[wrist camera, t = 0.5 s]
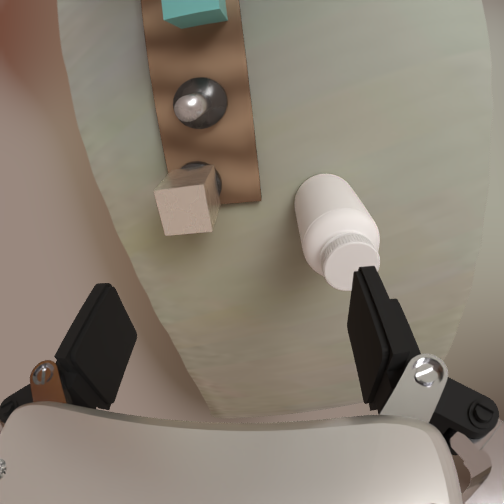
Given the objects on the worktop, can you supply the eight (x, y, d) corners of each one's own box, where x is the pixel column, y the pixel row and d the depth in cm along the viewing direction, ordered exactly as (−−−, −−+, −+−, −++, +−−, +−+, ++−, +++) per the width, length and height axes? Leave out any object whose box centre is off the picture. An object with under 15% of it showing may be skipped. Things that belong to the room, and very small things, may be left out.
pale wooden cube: (170, 164, 35) (149, 187, 29) (218, 158, 35) (207, 180, 28) (179, 208, 38) (162, 239, 32) (225, 203, 38) (216, 234, 31)
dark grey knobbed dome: (172, 82, 30) (152, 85, 24) (224, 73, 29) (215, 73, 24) (180, 130, 33) (163, 143, 27) (230, 123, 32) (223, 134, 27)
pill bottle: (350, 166, 36) (394, 222, 23) (355, 222, 40) (391, 294, 27) (288, 177, 37) (301, 238, 24) (298, 232, 41) (312, 310, 28)
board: (142, -13, 23) (139, -15, 22) (234, -33, 22) (233, -36, 21) (178, 205, 39) (176, 208, 38) (261, 197, 38) (261, 200, 38)
